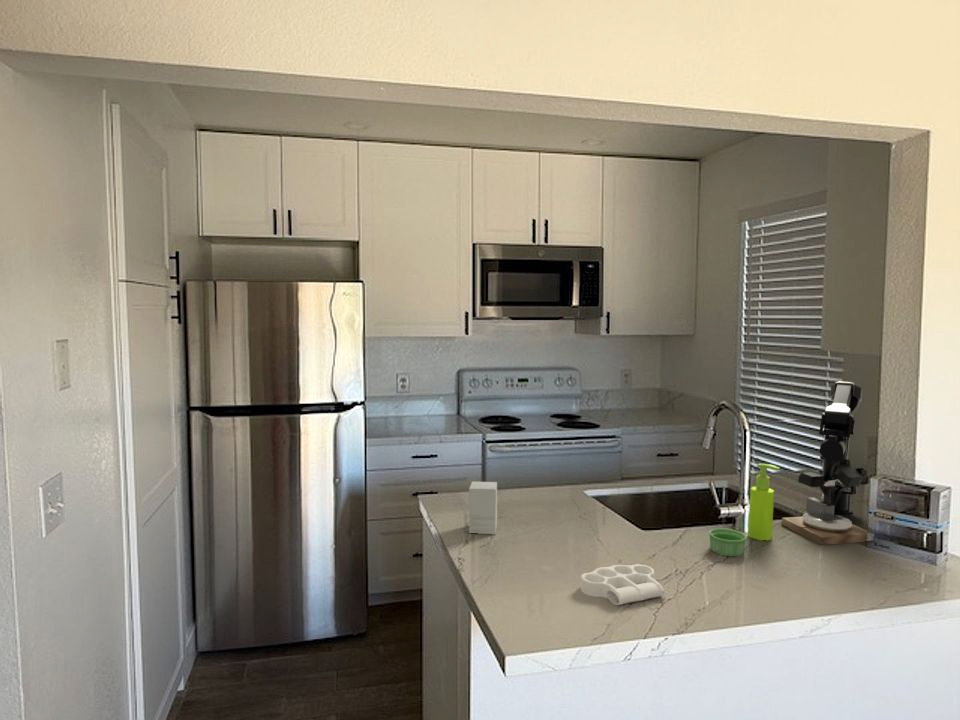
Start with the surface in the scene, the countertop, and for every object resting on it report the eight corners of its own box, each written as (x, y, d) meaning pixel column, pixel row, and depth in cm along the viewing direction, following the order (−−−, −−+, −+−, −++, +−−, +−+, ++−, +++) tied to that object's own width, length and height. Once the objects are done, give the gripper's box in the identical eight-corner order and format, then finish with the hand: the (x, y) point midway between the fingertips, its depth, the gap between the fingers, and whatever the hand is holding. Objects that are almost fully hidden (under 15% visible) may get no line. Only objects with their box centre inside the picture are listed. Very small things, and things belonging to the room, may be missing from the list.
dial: (861, 530, 178) (863, 510, 177) (823, 533, 175) (824, 513, 175) (827, 515, 190) (828, 496, 190) (790, 517, 188) (791, 498, 187)
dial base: (830, 521, 192) (830, 513, 192) (873, 540, 176) (874, 532, 176) (781, 524, 189) (782, 517, 188) (821, 544, 173) (822, 536, 173)
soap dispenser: (772, 543, 174) (776, 468, 172) (745, 537, 178) (749, 464, 176) (778, 536, 179) (782, 464, 177) (751, 531, 183) (755, 460, 181)
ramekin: (749, 559, 163) (749, 542, 163) (710, 556, 165) (711, 538, 164) (742, 546, 172) (743, 529, 171) (706, 543, 174) (706, 527, 173)
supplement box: (497, 525, 185) (498, 481, 184) (495, 535, 177) (496, 489, 176) (471, 524, 185) (471, 480, 184) (468, 533, 178) (468, 488, 177)
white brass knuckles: (605, 612, 135) (569, 583, 148) (676, 598, 142) (635, 572, 155) (606, 596, 135) (569, 569, 148) (677, 582, 142) (636, 558, 155)
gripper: (827, 462, 177) (823, 519, 178) (885, 459, 181) (882, 515, 182) (798, 452, 188) (795, 506, 189) (854, 450, 192) (851, 503, 193)
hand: (831, 508), depth 188 cm, fingers closed
